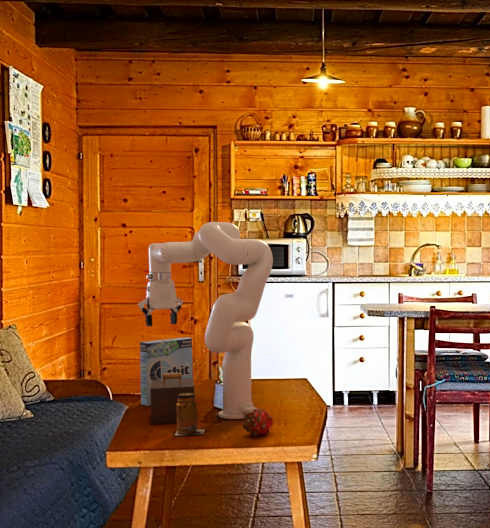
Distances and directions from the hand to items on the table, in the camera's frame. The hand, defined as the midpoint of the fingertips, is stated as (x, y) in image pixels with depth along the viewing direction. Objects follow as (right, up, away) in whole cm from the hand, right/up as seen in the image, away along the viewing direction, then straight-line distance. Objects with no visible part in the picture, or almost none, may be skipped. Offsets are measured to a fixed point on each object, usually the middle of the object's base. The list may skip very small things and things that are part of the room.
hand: (161, 325), depth 303 cm
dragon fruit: (+40, -30, -48) cm, 70 cm away
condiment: (+19, -30, -45) cm, 57 cm away
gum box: (0, -29, +7) cm, 30 cm away
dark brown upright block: (+9, -18, -23) cm, 30 cm away
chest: (+9, -29, -22) cm, 38 cm away
